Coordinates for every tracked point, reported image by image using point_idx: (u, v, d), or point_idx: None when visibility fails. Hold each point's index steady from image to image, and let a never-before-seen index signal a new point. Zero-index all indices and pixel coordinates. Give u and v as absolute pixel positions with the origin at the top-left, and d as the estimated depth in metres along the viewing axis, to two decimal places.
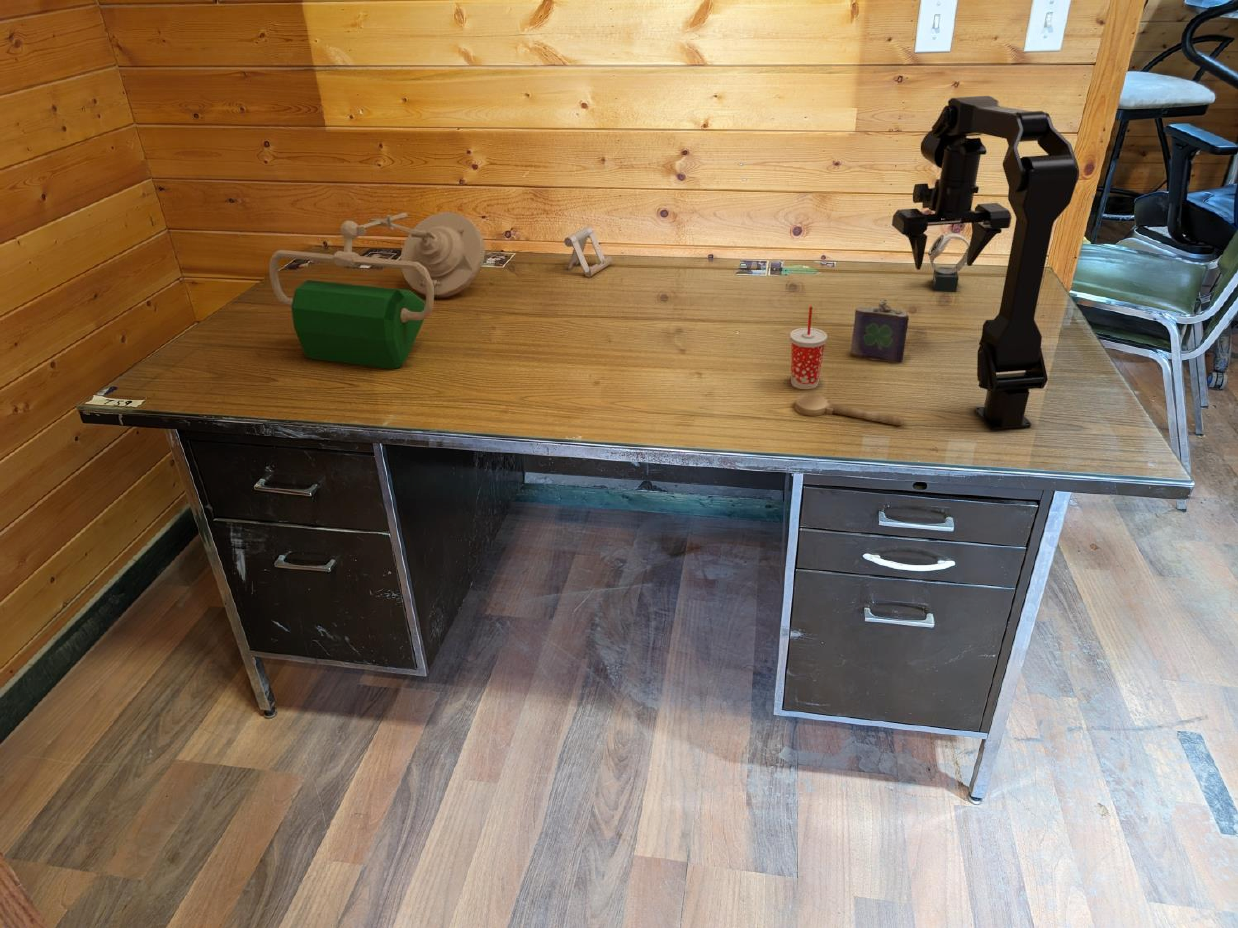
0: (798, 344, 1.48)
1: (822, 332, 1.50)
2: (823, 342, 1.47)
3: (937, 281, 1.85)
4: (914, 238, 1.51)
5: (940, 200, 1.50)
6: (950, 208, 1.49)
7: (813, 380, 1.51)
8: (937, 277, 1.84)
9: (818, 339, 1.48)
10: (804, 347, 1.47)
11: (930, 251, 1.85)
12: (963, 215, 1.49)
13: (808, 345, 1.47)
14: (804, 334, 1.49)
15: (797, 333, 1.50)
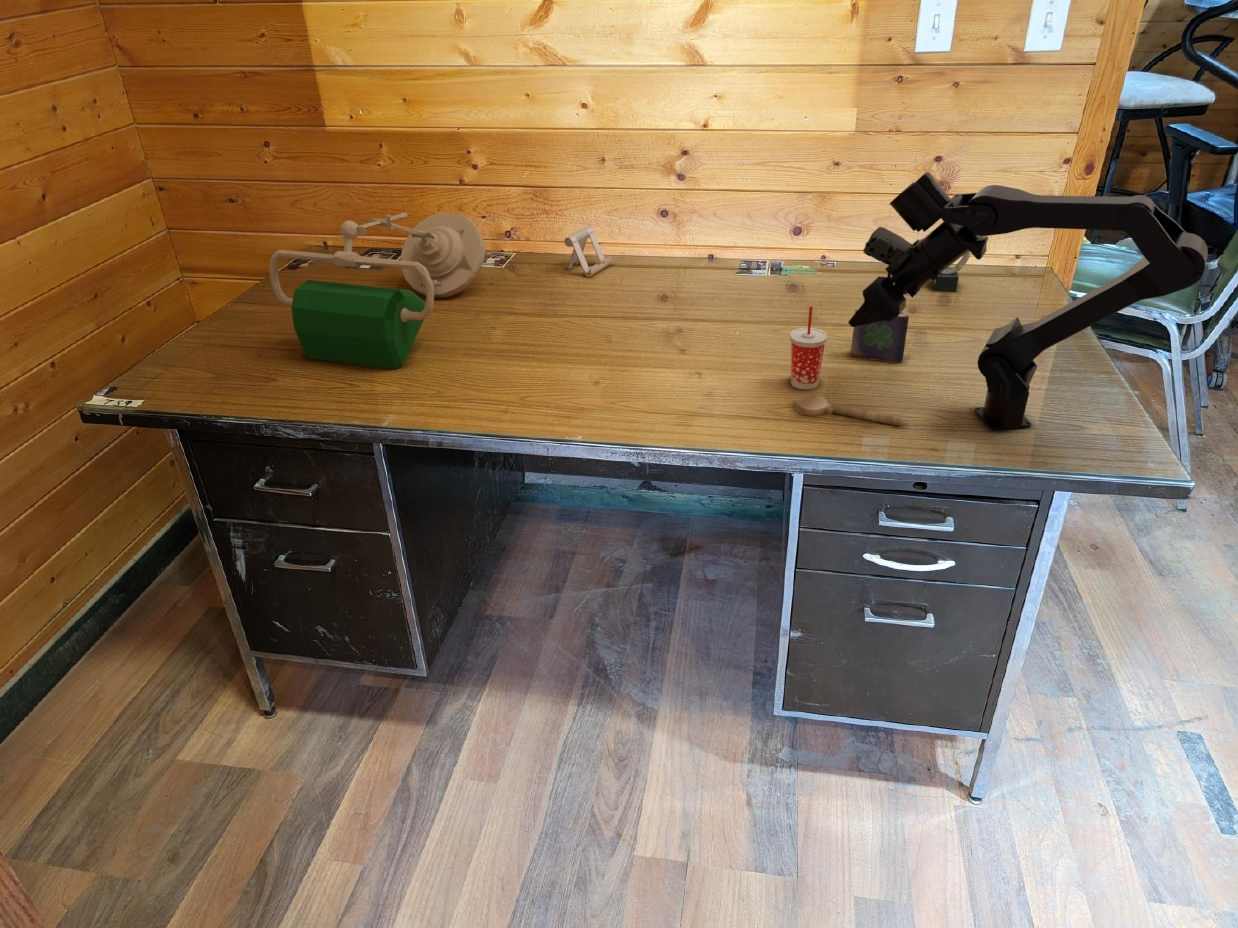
0: (798, 344, 1.48)
1: (822, 332, 1.50)
2: (823, 342, 1.47)
3: (937, 281, 1.85)
4: None
5: (914, 277, 1.35)
6: (919, 286, 1.36)
7: (813, 380, 1.51)
8: None
9: (818, 339, 1.48)
10: (804, 346, 1.47)
11: None
12: None
13: (808, 345, 1.47)
14: (804, 334, 1.49)
15: (797, 333, 1.50)
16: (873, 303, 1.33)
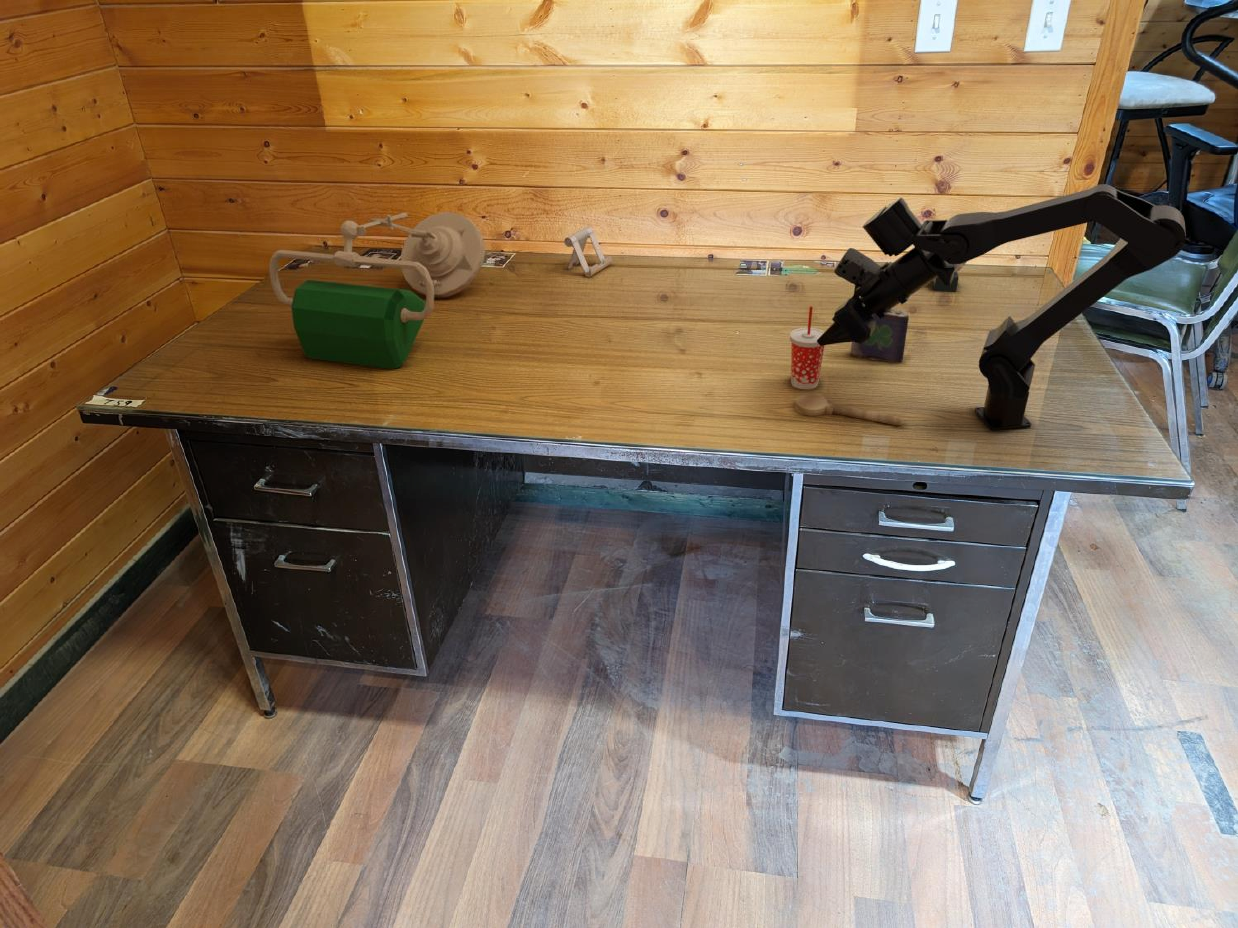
0: (798, 344, 1.48)
1: (822, 332, 1.50)
2: None
3: (937, 281, 1.85)
4: None
5: (883, 299, 1.37)
6: (887, 309, 1.39)
7: (813, 380, 1.51)
8: (937, 277, 1.84)
9: None
10: (804, 346, 1.47)
11: None
12: None
13: (808, 345, 1.47)
14: (804, 334, 1.49)
15: (797, 333, 1.50)
16: (845, 325, 1.35)
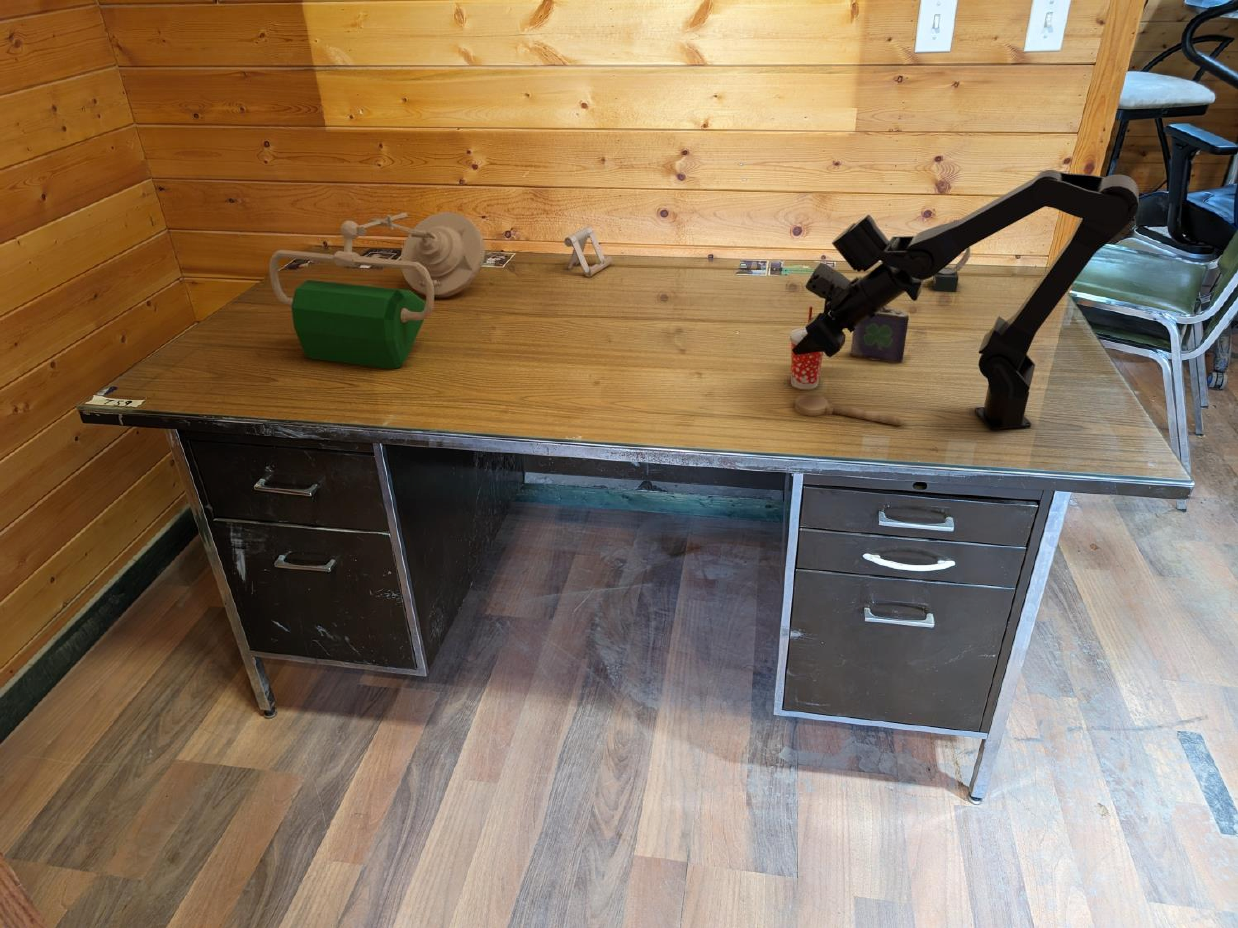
0: None
1: None
2: None
3: (937, 281, 1.85)
4: None
5: (853, 314, 1.41)
6: (857, 322, 1.42)
7: (813, 380, 1.51)
8: (937, 277, 1.84)
9: None
10: None
11: None
12: None
13: None
14: (804, 334, 1.49)
15: (797, 333, 1.50)
16: (815, 339, 1.39)
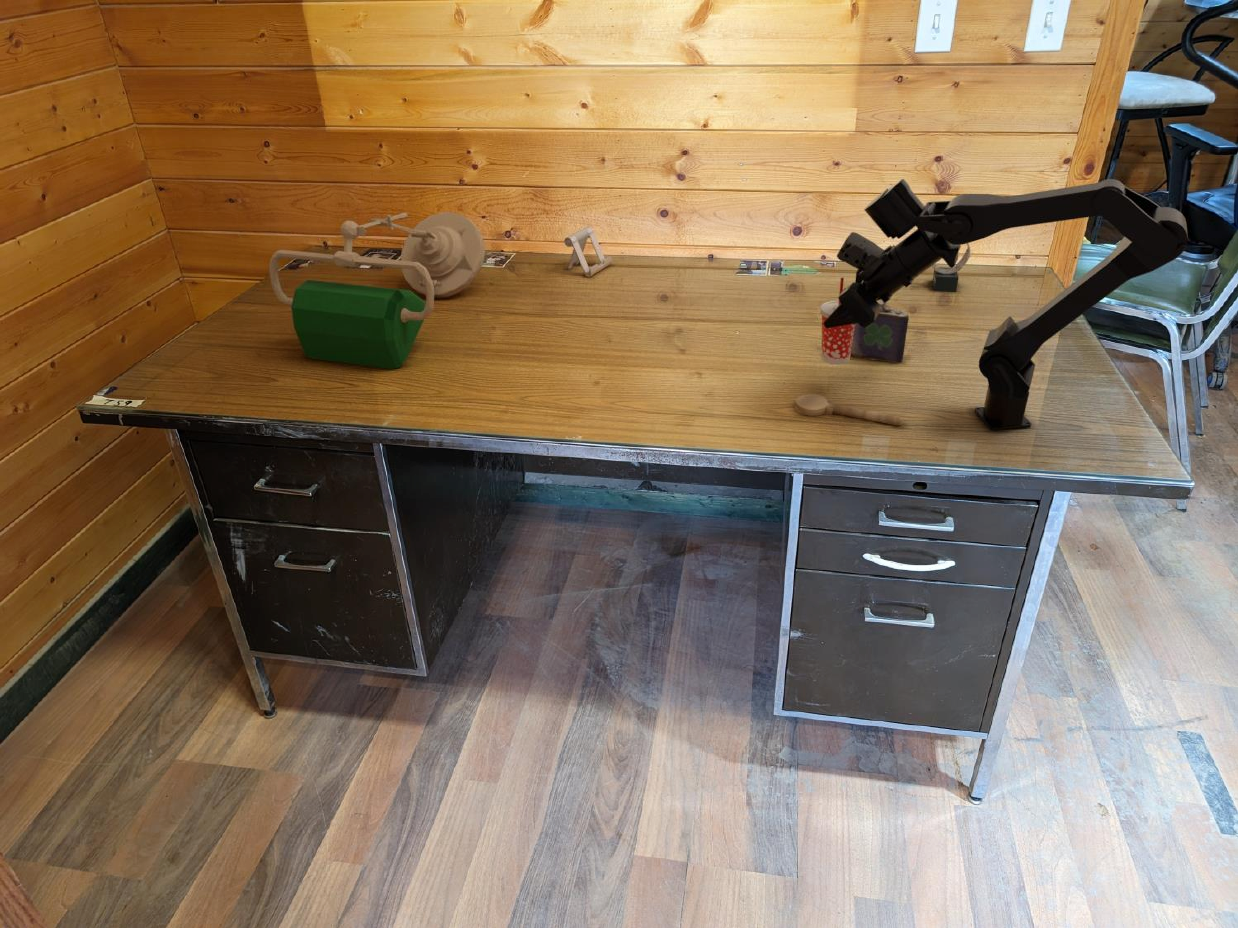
0: None
1: None
2: None
3: (937, 281, 1.85)
4: None
5: (887, 283, 1.36)
6: (891, 292, 1.37)
7: (844, 355, 1.46)
8: (937, 277, 1.84)
9: None
10: None
11: None
12: None
13: None
14: (835, 307, 1.44)
15: (828, 306, 1.45)
16: (849, 309, 1.34)
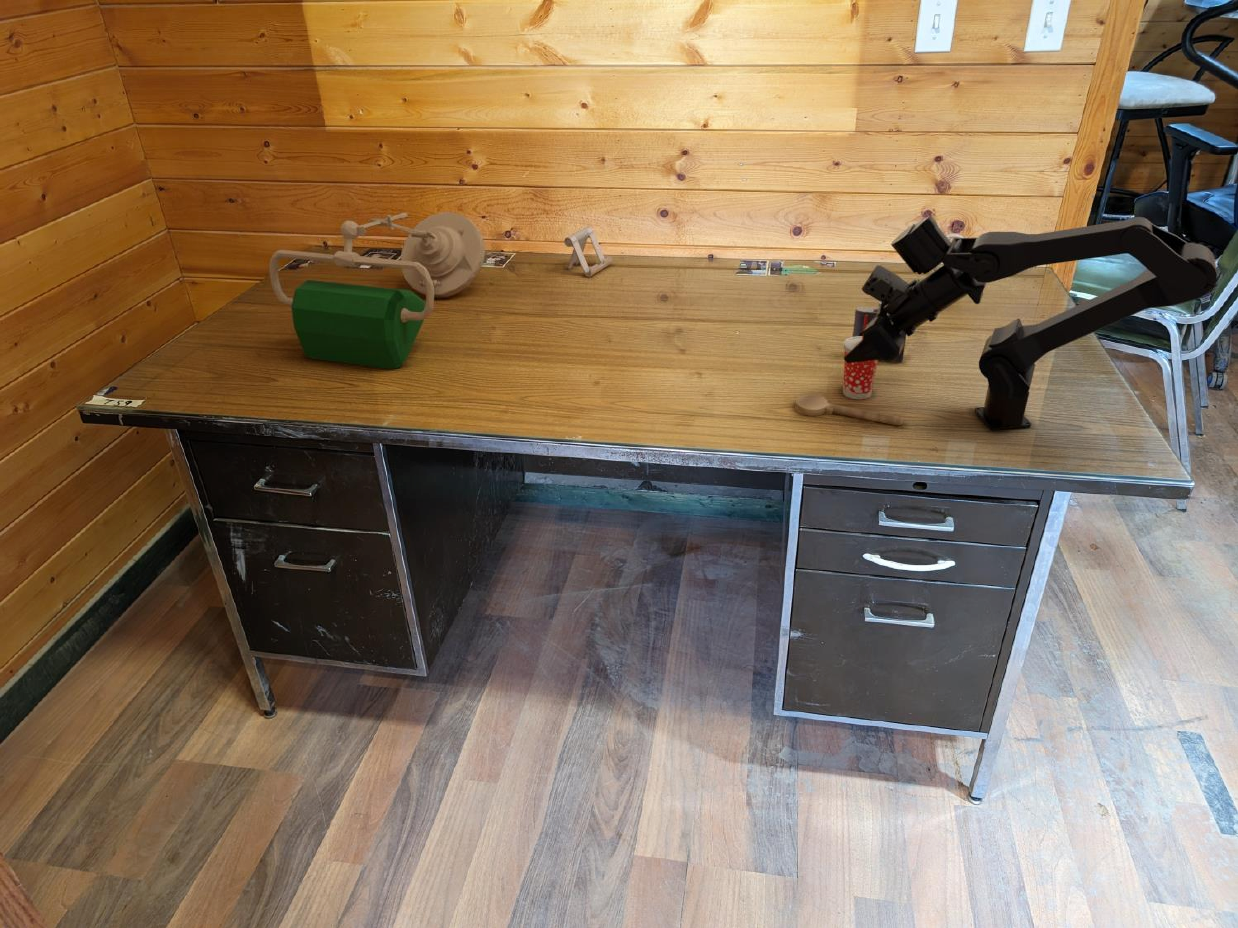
0: None
1: None
2: None
3: None
4: None
5: (912, 317, 1.37)
6: (915, 326, 1.38)
7: (866, 390, 1.48)
8: None
9: None
10: None
11: None
12: None
13: None
14: None
15: (851, 342, 1.46)
16: (874, 343, 1.35)
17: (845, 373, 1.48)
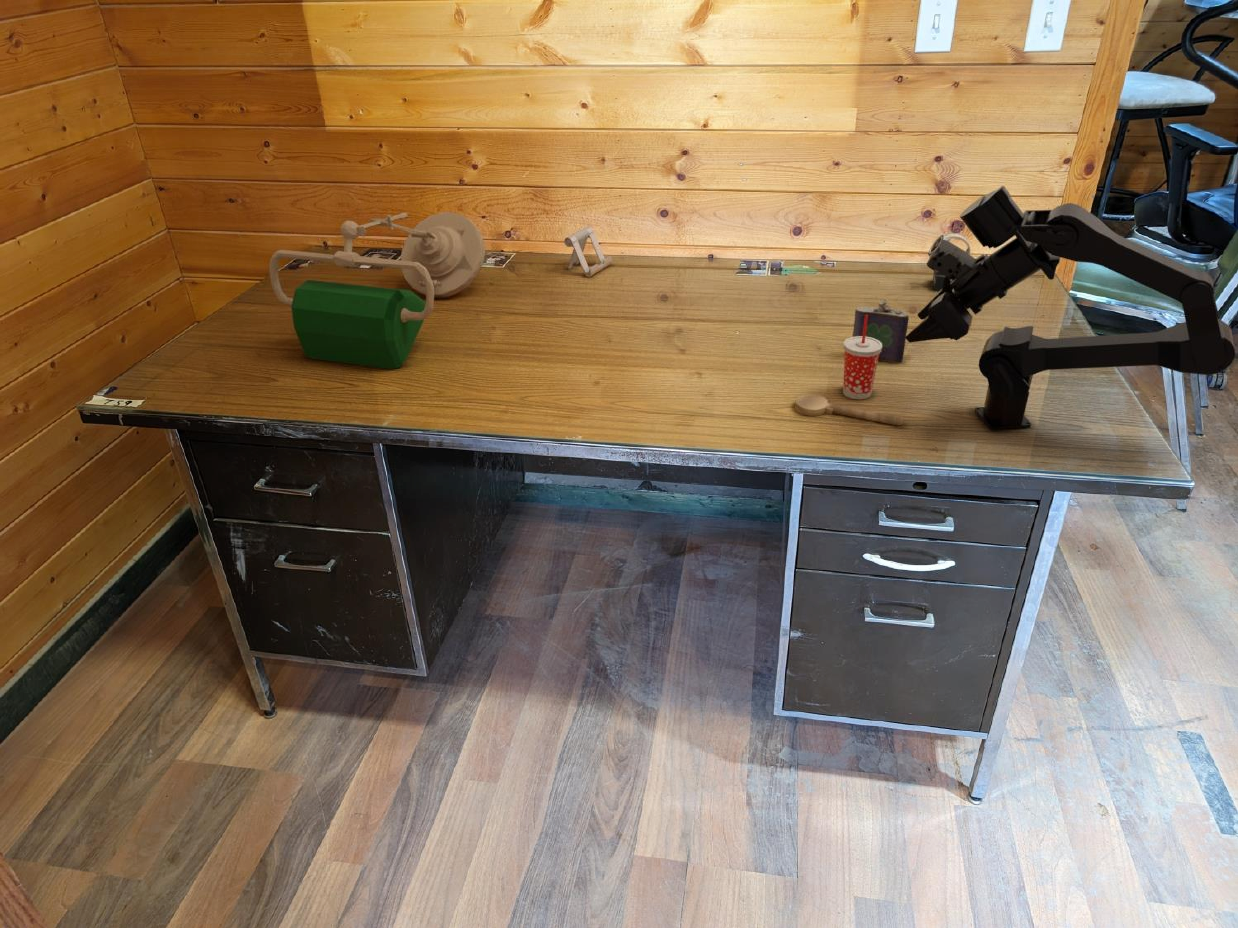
0: (853, 353, 1.44)
1: (876, 341, 1.46)
2: (878, 351, 1.44)
3: (937, 281, 1.85)
4: None
5: (980, 294, 1.30)
6: (983, 304, 1.32)
7: (866, 390, 1.48)
8: (937, 277, 1.84)
9: (873, 348, 1.44)
10: (859, 356, 1.44)
11: (930, 251, 1.85)
12: None
13: (863, 354, 1.43)
14: (858, 343, 1.45)
15: (851, 342, 1.47)
16: (941, 321, 1.28)
17: (845, 373, 1.48)
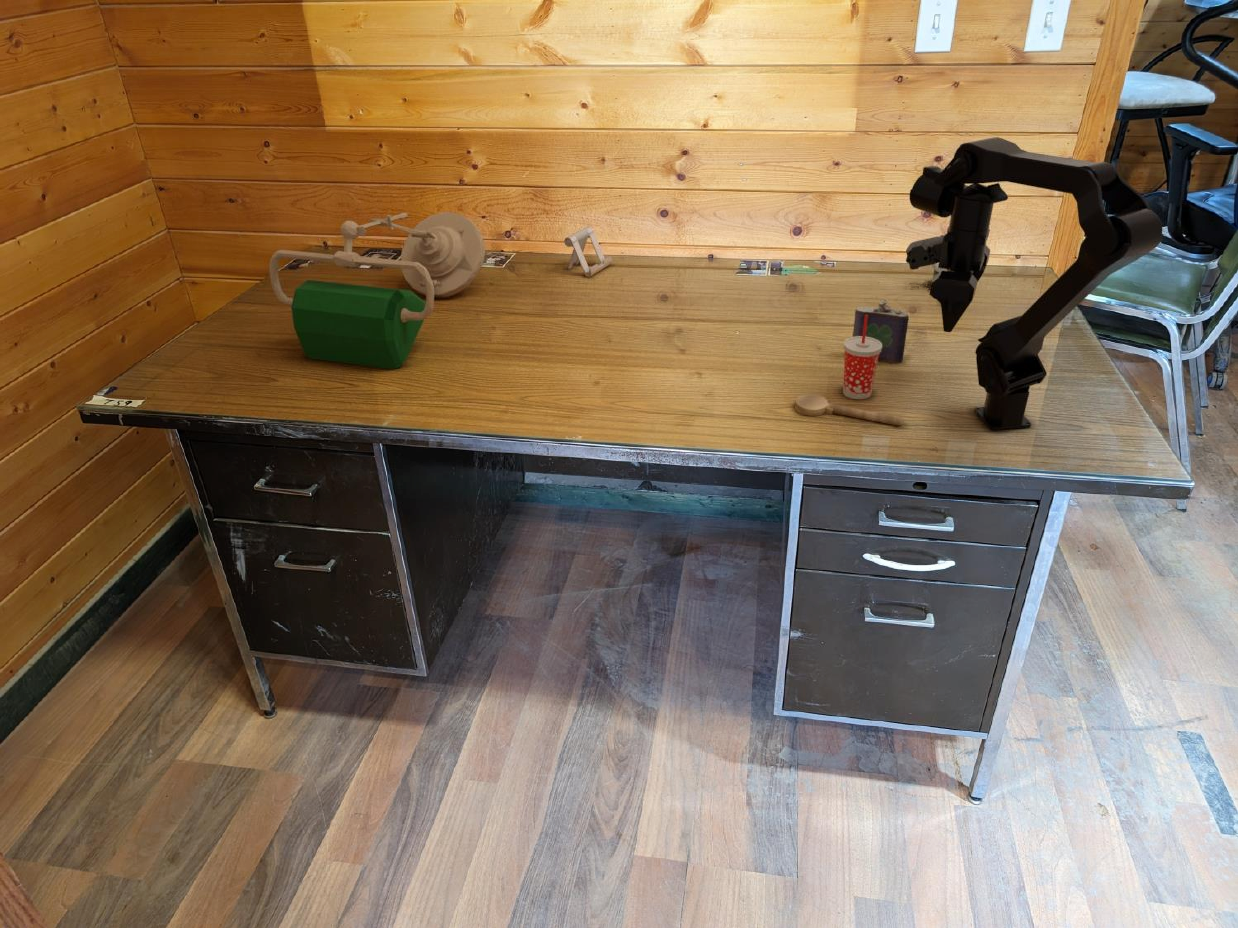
0: (853, 353, 1.44)
1: (877, 341, 1.46)
2: (878, 351, 1.44)
3: None
4: (971, 301, 1.34)
5: (966, 254, 1.36)
6: (978, 259, 1.36)
7: (866, 390, 1.48)
8: None
9: (873, 348, 1.44)
10: (859, 356, 1.44)
11: None
12: (982, 261, 1.39)
13: (863, 354, 1.43)
14: (858, 343, 1.45)
15: (851, 342, 1.47)
16: (945, 296, 1.34)
17: (845, 373, 1.48)
